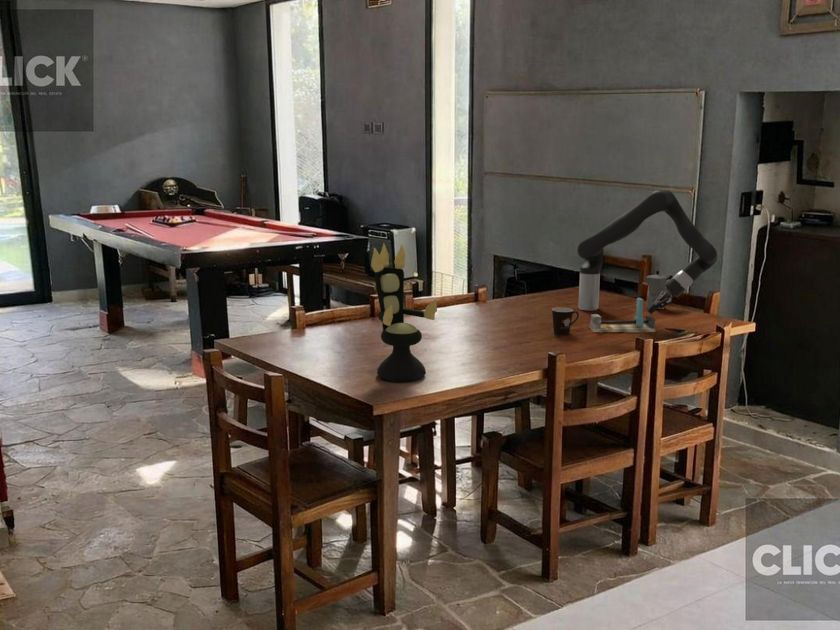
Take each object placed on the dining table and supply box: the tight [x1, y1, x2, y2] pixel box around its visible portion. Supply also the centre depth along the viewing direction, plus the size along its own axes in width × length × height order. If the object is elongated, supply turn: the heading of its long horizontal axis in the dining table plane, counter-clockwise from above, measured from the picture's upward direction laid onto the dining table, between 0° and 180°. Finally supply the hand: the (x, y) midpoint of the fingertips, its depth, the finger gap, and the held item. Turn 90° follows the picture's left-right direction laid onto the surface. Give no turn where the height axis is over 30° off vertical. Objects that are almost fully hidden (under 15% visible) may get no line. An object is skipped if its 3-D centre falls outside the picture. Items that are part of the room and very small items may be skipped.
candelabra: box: [370, 243, 438, 383], centre depth 287 cm, size 19×22×45 cm
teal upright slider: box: [633, 297, 645, 327], centre depth 357 cm, size 3×4×12 cm
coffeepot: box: [643, 270, 674, 309], centre depth 400 cm, size 15×9×18 cm, turn 98°
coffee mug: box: [551, 307, 580, 336], centre depth 351 cm, size 12×9×10 cm
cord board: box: [588, 313, 656, 334], centre depth 357 cm, size 26×8×6 cm, turn 94°
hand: (649, 312), depth 357 cm, fingers closed
